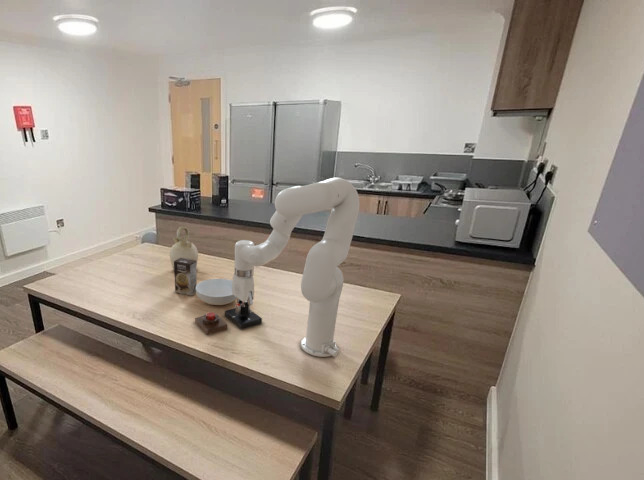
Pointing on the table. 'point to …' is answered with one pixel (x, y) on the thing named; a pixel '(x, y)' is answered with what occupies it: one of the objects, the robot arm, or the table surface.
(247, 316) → the tap console
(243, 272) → the robot arm
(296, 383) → the table surface
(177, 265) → the coffee box
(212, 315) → the button
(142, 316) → the table surface
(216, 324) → the control block
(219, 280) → the serving bowl
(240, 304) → the rotary selector knob
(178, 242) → the jug
